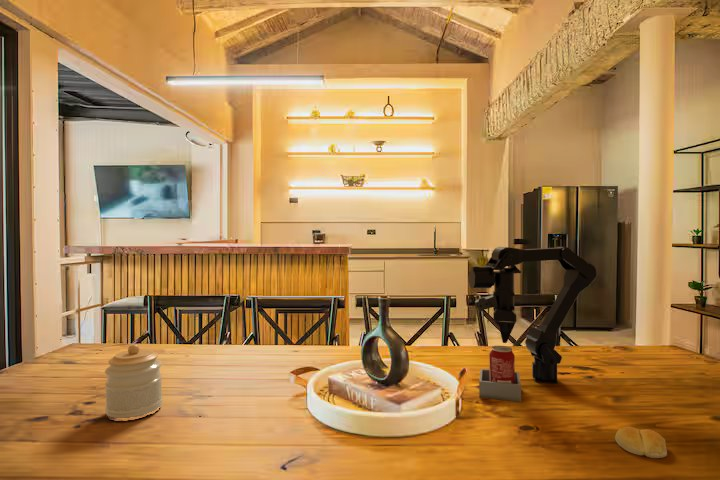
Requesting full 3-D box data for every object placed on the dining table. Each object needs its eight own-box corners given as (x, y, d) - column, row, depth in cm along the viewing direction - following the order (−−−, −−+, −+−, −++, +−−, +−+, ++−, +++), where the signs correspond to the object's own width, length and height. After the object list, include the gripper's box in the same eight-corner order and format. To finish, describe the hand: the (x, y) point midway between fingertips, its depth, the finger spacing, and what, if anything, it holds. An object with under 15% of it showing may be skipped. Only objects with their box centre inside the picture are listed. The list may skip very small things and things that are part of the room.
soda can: (514, 396, 112) (514, 352, 112) (488, 393, 115) (488, 350, 114) (514, 387, 118) (514, 346, 118) (490, 384, 121) (489, 344, 121)
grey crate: (518, 387, 121) (518, 372, 120) (521, 402, 110) (521, 385, 110) (480, 383, 124) (480, 368, 124) (479, 397, 114) (479, 381, 114)
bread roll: (615, 435, 92) (615, 417, 92) (665, 445, 88) (665, 427, 87) (615, 451, 85) (615, 432, 85) (668, 464, 81) (668, 444, 81)
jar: (173, 405, 111) (172, 340, 111) (132, 426, 99) (131, 353, 99) (136, 399, 115) (135, 336, 115) (93, 419, 103) (91, 349, 103)
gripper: (477, 283, 137) (478, 330, 137) (475, 291, 119) (475, 345, 119) (513, 284, 133) (513, 332, 133) (516, 292, 115) (516, 348, 116)
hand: (504, 339), depth 125 cm, fingers open, 9 cm apart
